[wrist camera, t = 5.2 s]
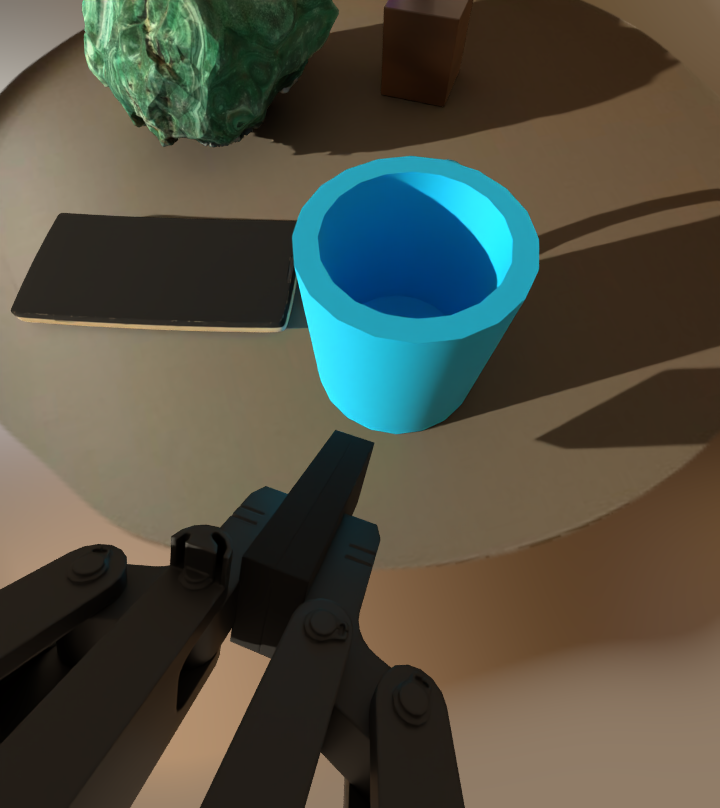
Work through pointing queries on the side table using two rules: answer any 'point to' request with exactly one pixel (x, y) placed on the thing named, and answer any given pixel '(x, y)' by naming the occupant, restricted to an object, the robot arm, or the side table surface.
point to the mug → (410, 285)
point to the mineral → (202, 60)
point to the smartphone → (162, 274)
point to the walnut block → (423, 48)
